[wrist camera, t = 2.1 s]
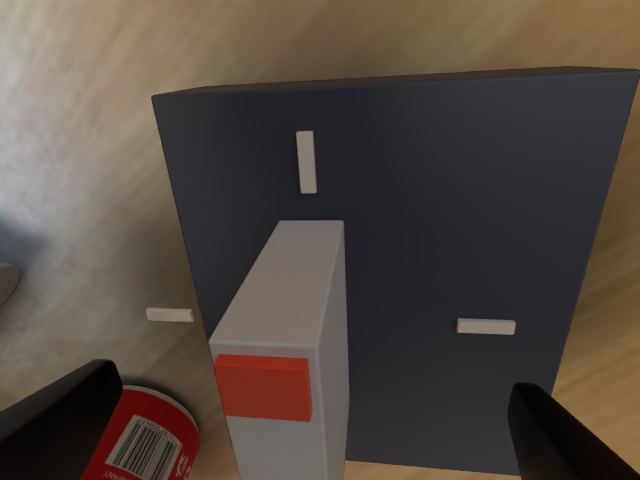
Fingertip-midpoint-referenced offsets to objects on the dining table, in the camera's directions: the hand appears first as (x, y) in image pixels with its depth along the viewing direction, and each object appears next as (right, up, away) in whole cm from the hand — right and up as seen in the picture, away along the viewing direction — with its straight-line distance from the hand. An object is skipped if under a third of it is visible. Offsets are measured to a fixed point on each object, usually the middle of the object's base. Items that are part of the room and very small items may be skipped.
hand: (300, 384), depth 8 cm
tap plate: (+2, +2, +5) cm, 6 cm away
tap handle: (0, +1, +2) cm, 2 cm away
